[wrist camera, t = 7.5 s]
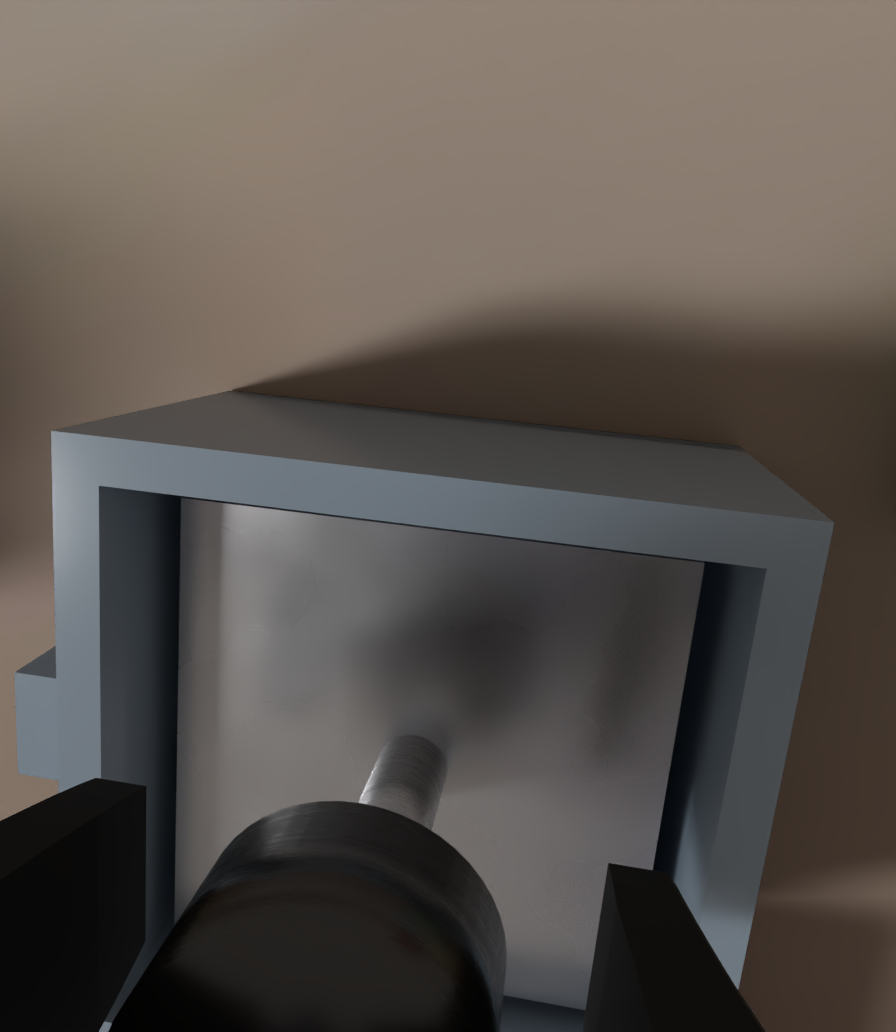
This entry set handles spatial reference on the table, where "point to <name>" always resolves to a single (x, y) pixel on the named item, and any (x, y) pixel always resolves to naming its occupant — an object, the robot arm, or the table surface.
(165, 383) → the table surface
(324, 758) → the slate-blue press plunger
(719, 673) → the slate-blue press
